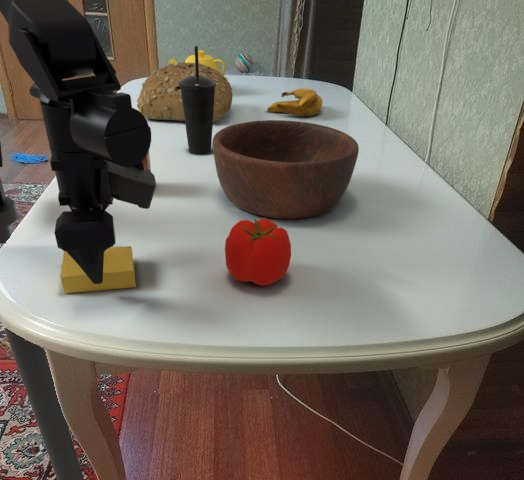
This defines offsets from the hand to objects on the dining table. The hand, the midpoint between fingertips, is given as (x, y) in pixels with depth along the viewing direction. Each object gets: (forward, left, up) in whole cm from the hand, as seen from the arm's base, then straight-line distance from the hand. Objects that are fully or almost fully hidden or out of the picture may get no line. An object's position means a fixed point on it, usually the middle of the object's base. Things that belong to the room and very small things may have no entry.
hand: (98, 265), depth 67 cm
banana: (+52, +82, -2) cm, 97 cm away
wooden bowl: (+32, +23, -2) cm, 39 cm away
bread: (+22, +82, -2) cm, 85 cm away
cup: (+6, +31, -2) cm, 32 cm away
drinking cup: (+21, +51, -2) cm, 55 cm away
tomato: (+21, -4, -2) cm, 21 cm away
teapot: (+29, +107, -2) cm, 111 cm away
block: (0, 0, -2) cm, 2 cm away
